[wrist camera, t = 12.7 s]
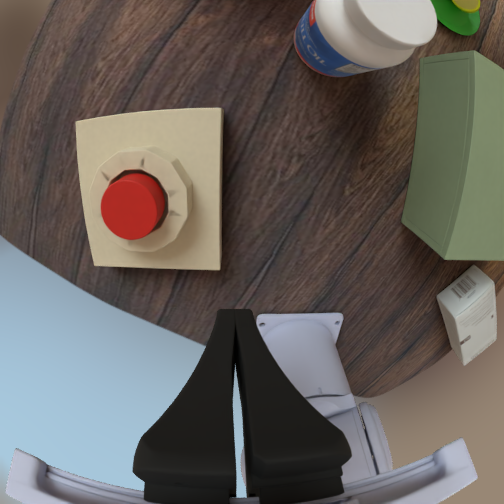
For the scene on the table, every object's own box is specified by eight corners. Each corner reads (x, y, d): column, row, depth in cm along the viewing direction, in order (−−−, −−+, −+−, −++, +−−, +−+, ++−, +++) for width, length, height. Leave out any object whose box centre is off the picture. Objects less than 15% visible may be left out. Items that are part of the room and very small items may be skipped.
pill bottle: (283, 15, 14) (317, -54, 5) (354, 11, 14) (426, -37, 5) (302, 84, 16) (358, 59, 8) (373, 77, 16) (462, 64, 7)
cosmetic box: (495, 282, 20) (499, 340, 24) (471, 260, 24) (483, 319, 28) (452, 320, 21) (465, 369, 26) (431, 294, 25) (450, 346, 30)
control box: (222, 256, 22) (218, 284, 19) (105, 253, 22) (84, 278, 18) (224, 108, 17) (219, 106, 14) (90, 119, 17) (61, 123, 13)
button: (167, 229, 17) (160, 240, 16) (115, 228, 17) (104, 240, 15) (163, 171, 15) (155, 178, 14) (109, 174, 15) (96, 181, 14)
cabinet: (497, 96, 15) (546, 104, 10) (476, 229, 22) (517, 260, 16) (419, 58, 15) (474, 50, 9) (400, 222, 21) (444, 260, 15)
